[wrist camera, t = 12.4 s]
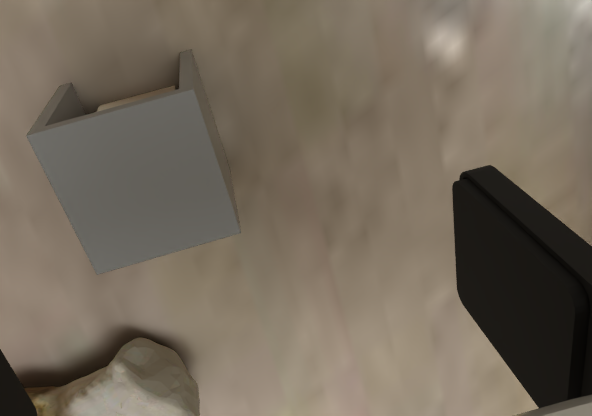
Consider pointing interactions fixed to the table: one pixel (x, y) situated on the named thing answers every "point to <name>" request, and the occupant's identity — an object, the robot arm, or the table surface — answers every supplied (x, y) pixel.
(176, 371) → the ceramic sculpture
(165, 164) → the arch cover
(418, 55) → the table surface
